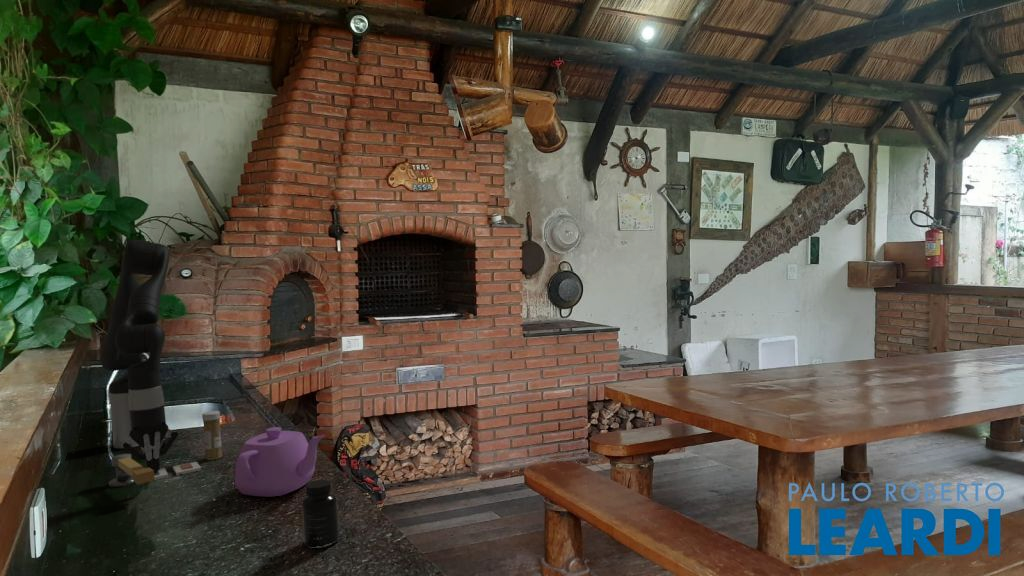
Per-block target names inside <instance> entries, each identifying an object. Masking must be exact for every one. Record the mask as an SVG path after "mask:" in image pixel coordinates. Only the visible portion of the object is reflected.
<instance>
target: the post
mask: <svg viewBox="0 0 1024 576" xmlns="http://www.w3.org/2000/svg"><path fill="white" fill-rule="evenodd" d="M115 472H116V477H115V478H113V479H111V480H109V482H108V487H110V488H123V487H128V486H131V485H134V484H136V483H135V482H134V481H133V477H132V476H130V475H129V474H128V473H126V472H125V471H124V470H122V469H121V468H120V467H115ZM127 485H128V486H127Z"/></svg>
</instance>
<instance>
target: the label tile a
mask: <svg viewBox="0 0 1024 576" xmlns="http://www.w3.org/2000/svg"><path fill="white" fill-rule="evenodd" d="M157 472H158V473H157V474H154V481H158V480H162V479H163V480H164V479H166V478H169V473H168V471H167V469H166V468H165V467H162V468H161V467H160V470H159V471H157Z"/></svg>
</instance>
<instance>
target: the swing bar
mask: <svg viewBox="0 0 1024 576" xmlns="http://www.w3.org/2000/svg"><path fill="white" fill-rule="evenodd" d="M111 467H113V468H116V467H120V468H121V469H122V470H124V471H125V472H126V473H128V474H129V476H132V477H133V481H134V482H135V483H134V484H136V485H141V484H146V483H150V482H154V481H155V480H154V470H152V469H151V468H145V466H143V465H141V464H140V463H139V462H137V461H136V460H134V459H132V454H131V453H121V454H116V455H114V456H112V457H111Z"/></svg>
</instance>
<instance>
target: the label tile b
mask: <svg viewBox="0 0 1024 576" xmlns="http://www.w3.org/2000/svg"><path fill="white" fill-rule="evenodd" d="M172 471H173V472H174V473H176V474H175V475H176V476H181V475H180V474H182V475H186V473H187V474H191V473H196V471H197V472H200V471H202V467H201V466H200V464H199V463H198V461H197V460H196V461H191V462H187V463H181V464H177V465H173V466H172Z"/></svg>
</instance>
